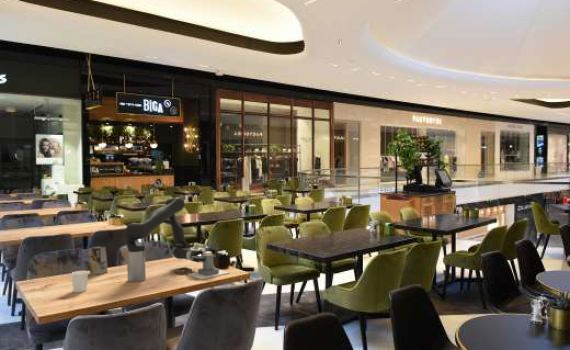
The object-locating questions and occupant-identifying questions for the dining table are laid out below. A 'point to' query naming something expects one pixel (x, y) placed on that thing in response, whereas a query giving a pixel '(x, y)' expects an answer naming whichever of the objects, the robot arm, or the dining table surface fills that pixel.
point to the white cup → (79, 281)
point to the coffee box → (98, 260)
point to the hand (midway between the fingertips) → (210, 258)
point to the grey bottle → (208, 261)
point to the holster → (182, 270)
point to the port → (207, 273)
